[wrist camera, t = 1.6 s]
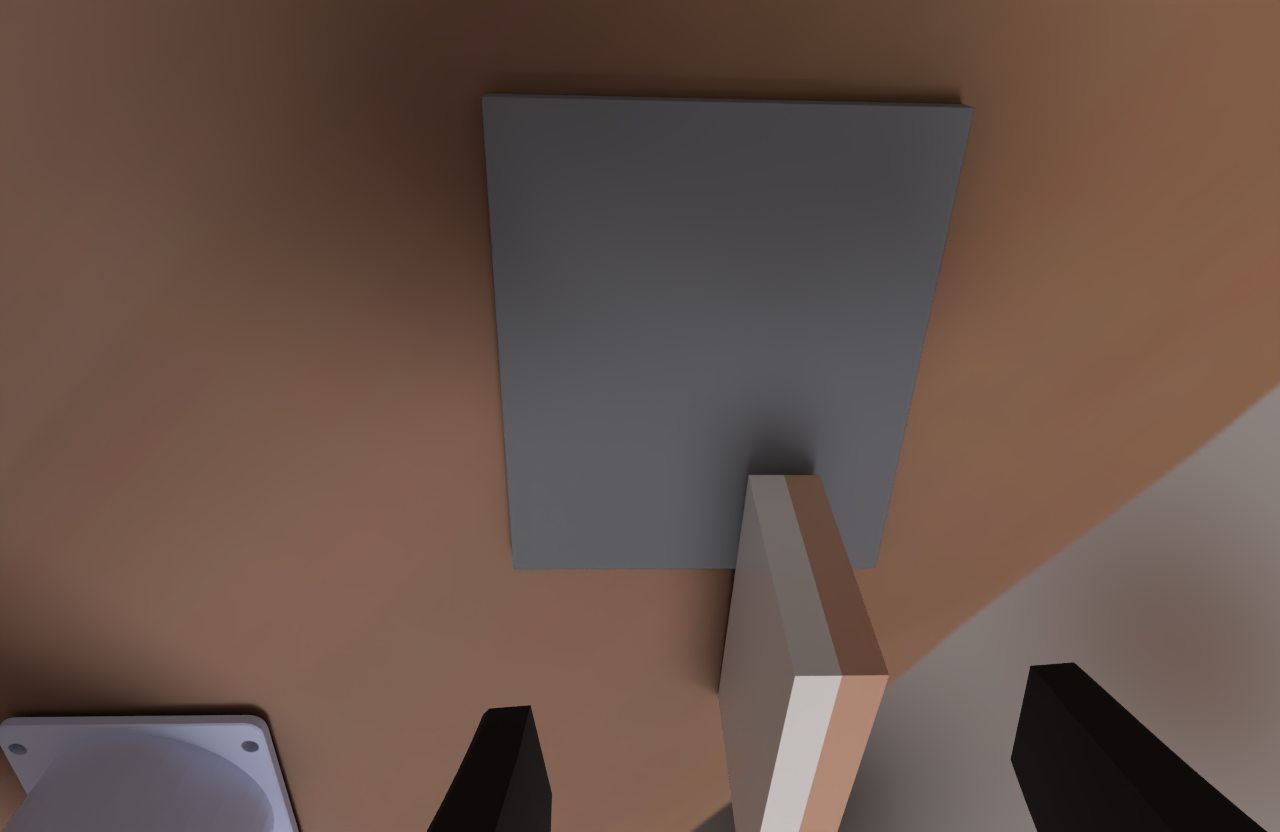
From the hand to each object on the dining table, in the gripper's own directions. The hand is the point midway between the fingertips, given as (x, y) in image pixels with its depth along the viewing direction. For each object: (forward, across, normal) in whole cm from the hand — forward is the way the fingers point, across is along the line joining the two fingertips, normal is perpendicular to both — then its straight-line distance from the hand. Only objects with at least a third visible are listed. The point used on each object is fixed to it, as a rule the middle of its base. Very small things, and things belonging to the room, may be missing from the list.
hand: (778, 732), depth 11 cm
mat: (+10, 0, -1) cm, 10 cm away
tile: (+9, -1, +6) cm, 11 cm away
